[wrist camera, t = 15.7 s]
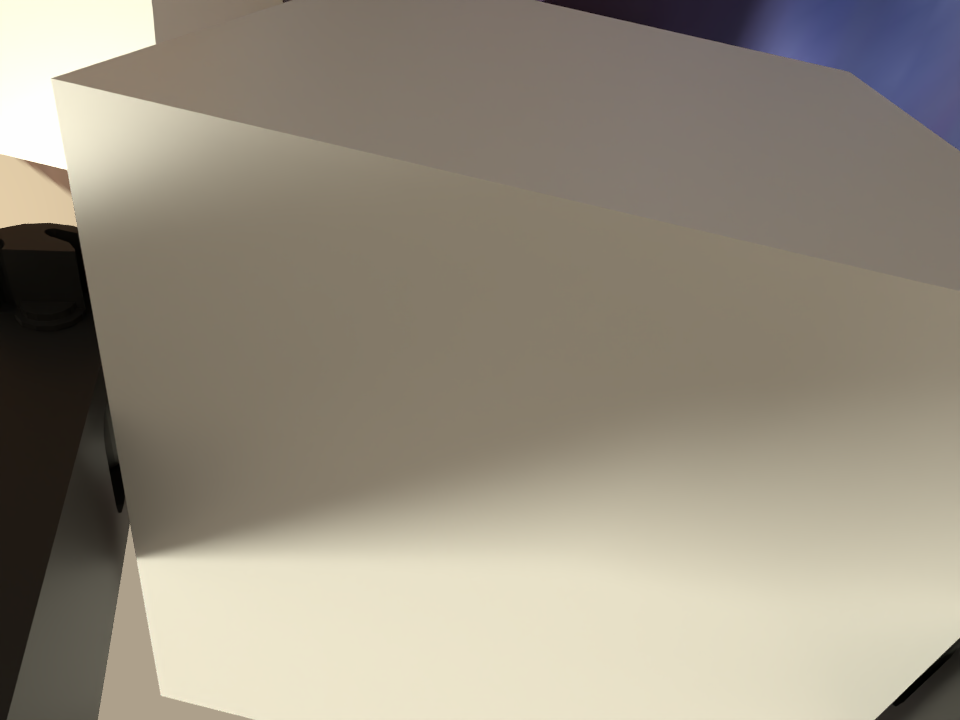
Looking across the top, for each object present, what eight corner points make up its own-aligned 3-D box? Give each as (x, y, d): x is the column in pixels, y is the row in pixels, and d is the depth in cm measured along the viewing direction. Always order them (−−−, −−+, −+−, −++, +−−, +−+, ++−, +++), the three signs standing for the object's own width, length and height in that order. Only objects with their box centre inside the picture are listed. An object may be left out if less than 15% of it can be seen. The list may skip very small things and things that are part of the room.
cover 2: (391, -33, 12) (51, 79, 5) (848, 72, 12) (1247, 358, 4) (357, 344, 17) (161, 695, 9) (683, 423, 17) (744, 844, 9)
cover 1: (61, -165, 24) (-177, -193, 17) (283, -115, 24) (140, -121, 17) (95, 74, 29) (-80, 134, 22) (281, 118, 29) (169, 193, 21)
